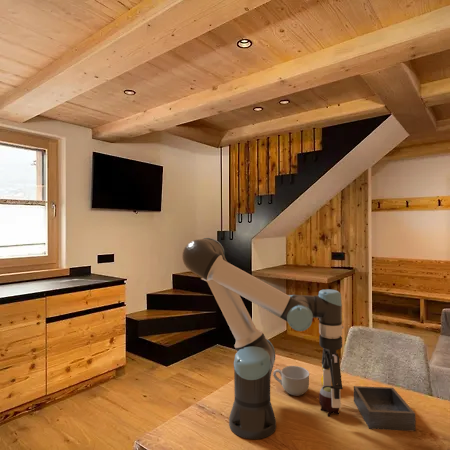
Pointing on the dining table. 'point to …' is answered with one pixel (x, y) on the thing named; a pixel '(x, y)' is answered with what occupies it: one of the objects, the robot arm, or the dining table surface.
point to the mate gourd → (327, 401)
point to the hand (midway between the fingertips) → (331, 396)
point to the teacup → (293, 379)
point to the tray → (384, 408)
